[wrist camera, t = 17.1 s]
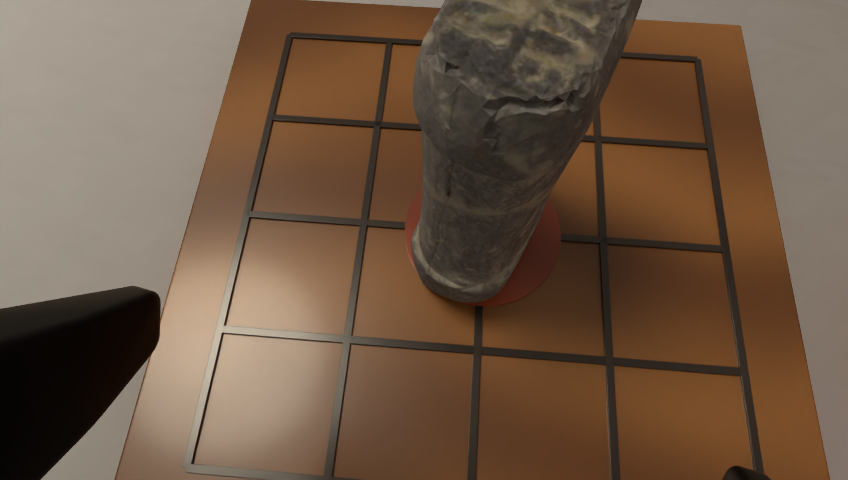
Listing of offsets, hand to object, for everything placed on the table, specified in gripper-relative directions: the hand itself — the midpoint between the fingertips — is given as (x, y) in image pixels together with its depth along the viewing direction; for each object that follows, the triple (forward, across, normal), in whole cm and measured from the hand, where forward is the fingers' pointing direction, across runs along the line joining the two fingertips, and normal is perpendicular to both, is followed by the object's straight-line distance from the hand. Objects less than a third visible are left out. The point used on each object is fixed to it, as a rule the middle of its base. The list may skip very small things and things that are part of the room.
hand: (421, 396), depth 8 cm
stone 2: (+10, 0, +1) cm, 10 cm away
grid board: (+11, 0, +2) cm, 11 cm away
